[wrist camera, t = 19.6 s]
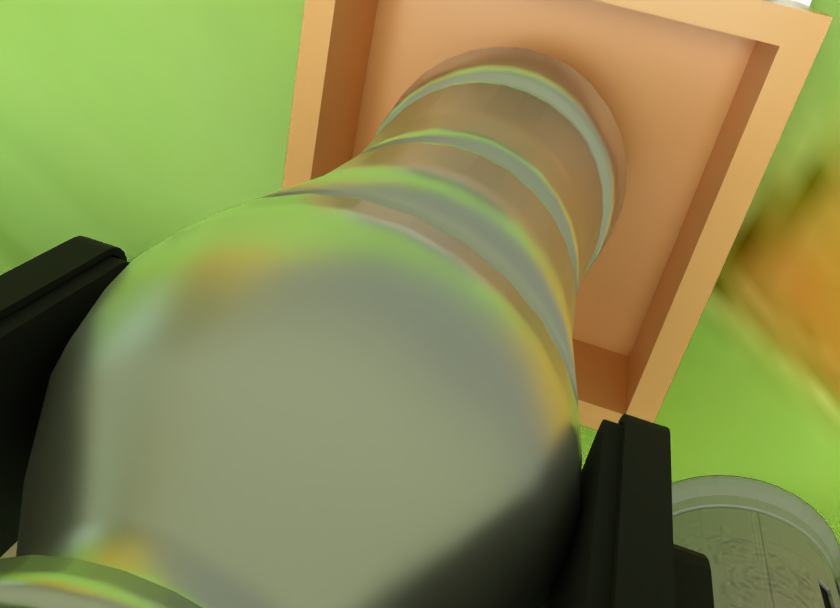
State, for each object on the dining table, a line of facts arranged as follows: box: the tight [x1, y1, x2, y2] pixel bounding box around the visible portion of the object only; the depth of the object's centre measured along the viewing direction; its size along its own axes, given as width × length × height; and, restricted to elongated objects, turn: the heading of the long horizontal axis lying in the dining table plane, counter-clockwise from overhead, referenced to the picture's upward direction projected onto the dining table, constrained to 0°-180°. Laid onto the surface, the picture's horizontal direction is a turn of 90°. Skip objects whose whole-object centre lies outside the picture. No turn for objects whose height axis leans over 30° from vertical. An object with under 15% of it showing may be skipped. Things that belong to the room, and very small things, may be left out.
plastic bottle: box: [0, 47, 627, 608], centre depth 13 cm, size 6×7×20 cm
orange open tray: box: [282, 0, 833, 430], centre depth 23 cm, size 12×12×6 cm
